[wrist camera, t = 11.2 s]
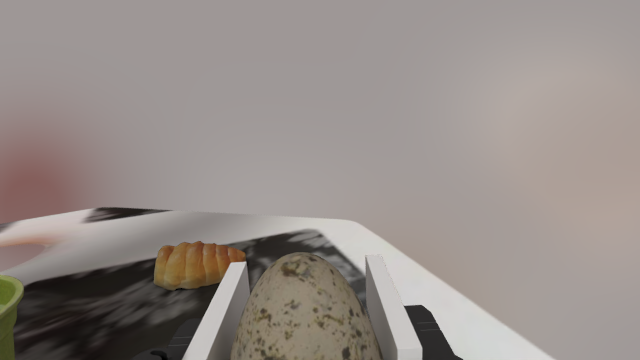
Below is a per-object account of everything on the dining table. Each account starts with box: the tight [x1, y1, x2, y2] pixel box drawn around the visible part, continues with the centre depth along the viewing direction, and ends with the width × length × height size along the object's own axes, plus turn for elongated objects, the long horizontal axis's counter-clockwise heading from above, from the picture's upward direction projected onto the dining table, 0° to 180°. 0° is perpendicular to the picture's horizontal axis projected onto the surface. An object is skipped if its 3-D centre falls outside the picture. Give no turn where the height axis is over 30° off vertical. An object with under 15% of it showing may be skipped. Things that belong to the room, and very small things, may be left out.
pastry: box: [154, 241, 246, 291], centre depth 38 cm, size 9×7×4 cm
